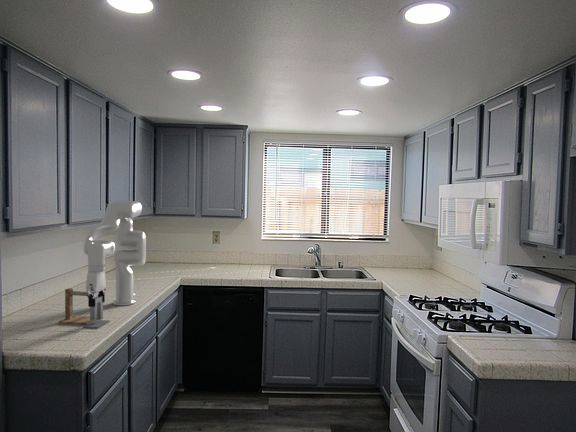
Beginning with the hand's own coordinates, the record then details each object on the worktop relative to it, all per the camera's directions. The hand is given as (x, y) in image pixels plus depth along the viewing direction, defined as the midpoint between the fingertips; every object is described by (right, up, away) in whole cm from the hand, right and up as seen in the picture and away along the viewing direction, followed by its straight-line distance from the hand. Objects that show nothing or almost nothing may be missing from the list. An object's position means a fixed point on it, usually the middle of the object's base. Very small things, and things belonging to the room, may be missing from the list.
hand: (96, 304), depth 204 cm
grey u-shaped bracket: (0, -8, 0) cm, 8 cm away
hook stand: (-11, -10, +5) cm, 15 cm away
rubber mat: (0, -10, 0) cm, 10 cm away
